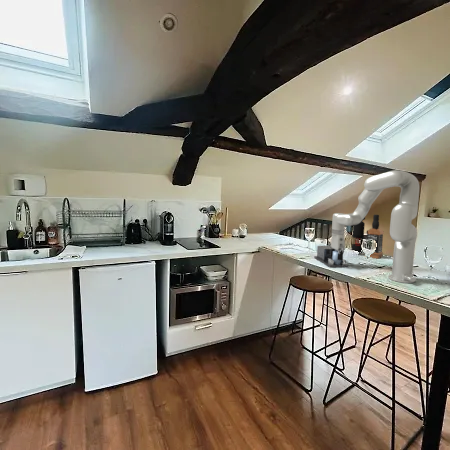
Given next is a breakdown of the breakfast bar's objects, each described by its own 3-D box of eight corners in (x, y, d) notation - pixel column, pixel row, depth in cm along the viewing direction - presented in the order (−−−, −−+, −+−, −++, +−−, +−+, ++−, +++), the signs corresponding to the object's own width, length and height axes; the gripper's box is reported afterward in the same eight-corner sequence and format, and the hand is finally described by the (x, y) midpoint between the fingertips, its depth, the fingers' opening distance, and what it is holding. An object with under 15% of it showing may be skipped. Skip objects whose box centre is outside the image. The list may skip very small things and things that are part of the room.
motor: (348, 267, 178) (348, 253, 177) (329, 267, 177) (330, 253, 176) (328, 257, 206) (329, 244, 205) (312, 257, 206) (313, 244, 205)
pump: (341, 264, 179) (342, 251, 178) (334, 264, 178) (335, 251, 177) (338, 262, 184) (338, 249, 183) (330, 262, 183) (331, 249, 182)
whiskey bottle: (369, 254, 216) (371, 214, 212) (382, 256, 209) (386, 214, 205) (363, 256, 209) (366, 214, 205) (377, 259, 202) (381, 215, 198)
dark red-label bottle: (367, 255, 213) (370, 216, 209) (357, 256, 210) (360, 217, 207) (354, 251, 226) (356, 215, 222) (345, 252, 223) (347, 215, 220)
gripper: (350, 234, 170) (348, 261, 172) (337, 230, 187) (336, 255, 189) (338, 234, 170) (337, 261, 172) (326, 230, 187) (325, 255, 189)
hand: (336, 258), depth 181 cm, fingers open, 9 cm apart
